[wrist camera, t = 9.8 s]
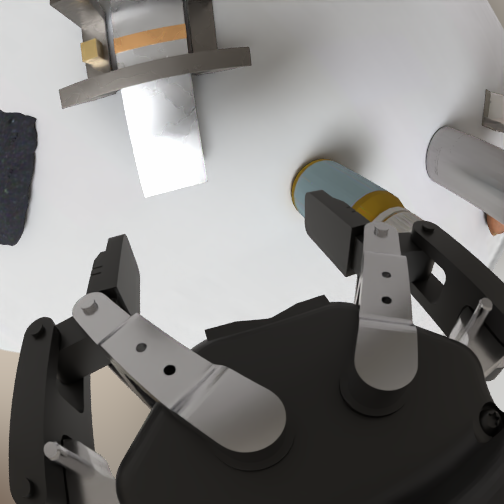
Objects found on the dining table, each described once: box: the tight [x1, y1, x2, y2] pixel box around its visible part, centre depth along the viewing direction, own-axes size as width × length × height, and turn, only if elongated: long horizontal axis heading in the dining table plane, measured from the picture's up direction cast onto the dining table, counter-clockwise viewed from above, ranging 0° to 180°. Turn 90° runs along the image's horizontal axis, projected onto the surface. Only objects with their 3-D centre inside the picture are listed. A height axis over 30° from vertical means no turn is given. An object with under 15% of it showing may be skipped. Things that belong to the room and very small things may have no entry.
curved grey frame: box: [50, 0, 251, 109], centre depth 14 cm, size 11×8×10 cm
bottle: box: [292, 159, 424, 233], centre depth 25 cm, size 7×7×15 cm
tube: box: [110, 0, 207, 197], centre depth 18 cm, size 20×5×5 cm, turn 5°
